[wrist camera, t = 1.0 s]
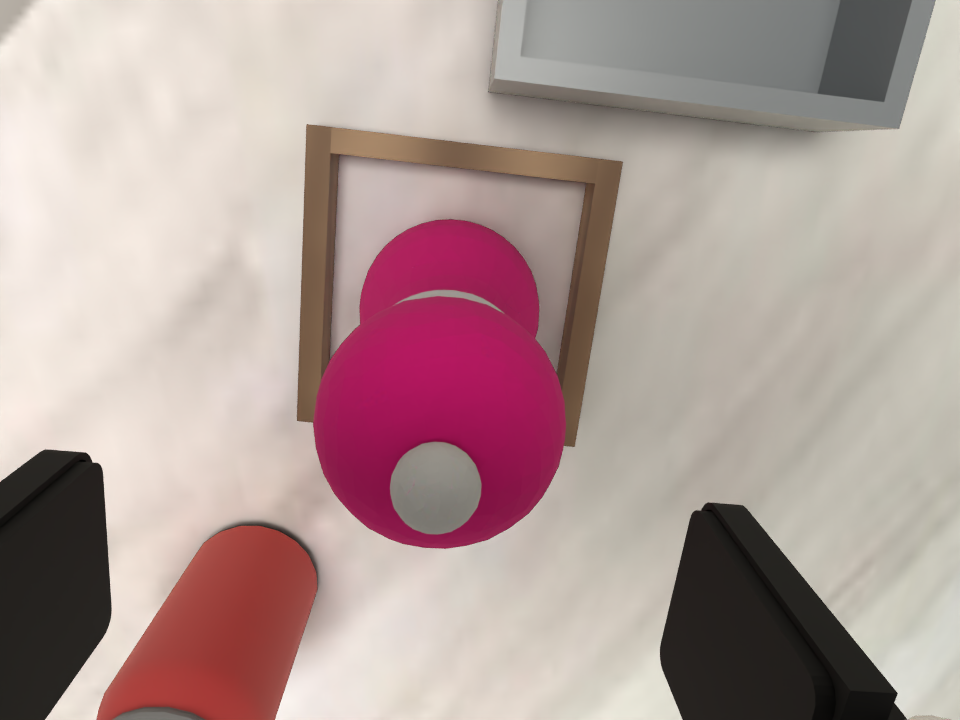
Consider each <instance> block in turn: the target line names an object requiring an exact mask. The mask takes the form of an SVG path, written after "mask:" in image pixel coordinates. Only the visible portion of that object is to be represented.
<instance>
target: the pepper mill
mask: <svg viewBox="0 0 960 720" xmlns="http://www.w3.org/2000/svg"><path fill="white" fill-rule="evenodd" d="M538 321H539V300H538V293H537V288H536V283H535V281H534V278H533V275H532V273H531V270H530V268H529V267H528V265H527V263H526V261H525V260H524V258H523V257H522V256H521V254H520V253H519V252H518V251H517V249H516V248H515V247H514V246H513V245H512V244H510V243H509V242H508V241H507V240H506V239H505V238H504V237H502V236H501V235H499V234H497V233H496V232H494V231H493V230H491V229H488V228H486V227H484V226H482V225H479V224H475V223H472V222H468V221H462V220H453V219H449V220H435V221H431V222H426V223H422V224H420V225H417V226H415V227H412V228H410V229H408V230H406V231H404V232H403V233H401V234H399V235H398V236H396V237H395V238H394V239H393V240H392V241H390V242H389V243H388V244H387V245H386V246H385V247H384V248H383V249H382V251H381V252H380V253H379V254H378V255H377V257H376V258H375V260H374V262H373V264H372V265H371V267H370V269H369V270H368V273H367V276H366V279H365V282H364V285H363V289H362V292H361V299H360V325H359V326H358V327H357V328H356V329H355V330H354V331H353V332H352V333H351V334H350V335H349V336H348V337H347V338H346V339H345V340H344V342H343V343H342V344H341V345H340V347H339V348H338V349H337V351H336V352H335V354H334V355H333V357H332V358H331V360H330V361H329V363H328V366H327V368H326V370H325V372H324V374H323V377H322V379H321V383H320V386H319V390H318V393H317V397H316V405H315V413H314V420H313V427H314V436H315V444H316V450H317V453H318V457H319V460H320V464H321V467H322V470H323V474H324V476H325V477H326V479H327V481H328V483H329V485H330V487H331V488H332V490H333V492H334V494H335V495H336V496H337V498H338V499H339V500H340V501H341V502H342V504H343V505H344V506H345V507H346V508H347V509H348V510H349V511H350V512H351V513H352V514H353V515H354V516H355V517H356V518H357V519H358V520H359V521H361V522H362V523H363V524H364V525H365V526H366V527H368V528H369V529H371V530H373V531H375V532H377V533H379V534H381V535H383V536H385V537H387V538H388V539H391V540H394V541H396V542H399V543H402V544H407V545H412V546H418V547H423V548H444V549H446V548H453V547H460V546H467V545H470V544H474V543H478V542H481V541H485V540H488V539H490V538H492V537H494V536H496V535H497V534H499V533H501V532H503V531H505V530H507V529H509V528H510V527H511V526H513V525H514V524H515V523H517V522H518V521H519V520H521V519H522V518H523V517H525V516H526V515H527V514H529V512H530V511H531V510H532V509H533V508H534V506H535V505H536V504H537V503H538V502H539V500H540V499H541V498H542V497H543V495H544V493H545V492H546V490H547V488H548V487H549V485H550V483H551V481H552V479H553V477H554V475H555V473H556V471H557V469H558V467H559V463H560V459H561V455H562V451H563V446H564V442H565V432H566V418H565V403H564V398H563V394H562V390H561V386H560V383H559V379H558V376H557V374H556V372H555V370H554V368H553V366H552V364H551V362H550V360H549V358H548V356H547V354H546V352H545V351H544V349H543V348H542V347H541V346H540V344H539V343H538V342H537V341H536V339H535V337H536V334H537V330H538Z"/></svg>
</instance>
